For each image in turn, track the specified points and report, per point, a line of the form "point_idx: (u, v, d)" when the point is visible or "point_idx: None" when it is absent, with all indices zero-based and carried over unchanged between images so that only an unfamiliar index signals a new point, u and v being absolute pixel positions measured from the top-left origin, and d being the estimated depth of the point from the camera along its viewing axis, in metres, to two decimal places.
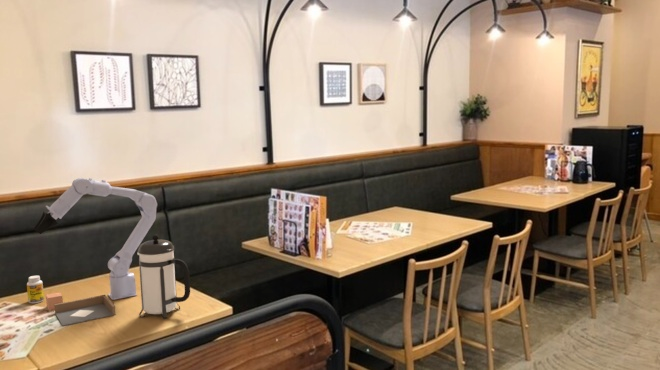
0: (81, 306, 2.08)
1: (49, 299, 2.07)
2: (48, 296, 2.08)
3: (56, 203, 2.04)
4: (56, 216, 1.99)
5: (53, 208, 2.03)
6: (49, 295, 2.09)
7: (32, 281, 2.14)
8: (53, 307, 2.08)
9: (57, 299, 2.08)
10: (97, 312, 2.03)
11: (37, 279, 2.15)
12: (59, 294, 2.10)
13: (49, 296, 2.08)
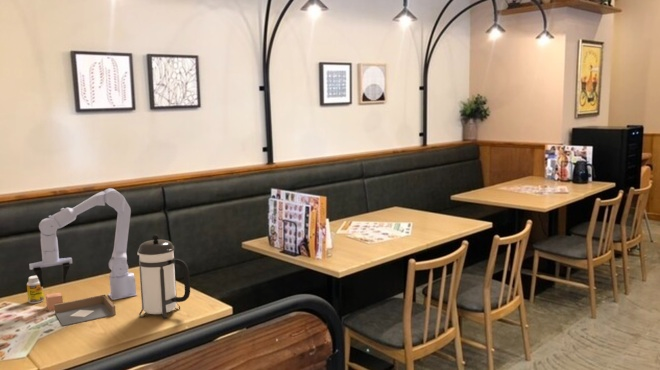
0: (81, 306, 2.08)
1: (49, 299, 2.07)
2: (48, 296, 2.08)
3: None
4: (29, 266, 2.04)
5: None
6: (49, 295, 2.09)
7: (32, 281, 2.14)
8: (53, 307, 2.08)
9: (57, 299, 2.08)
10: (97, 312, 2.03)
11: (37, 279, 2.15)
12: (59, 294, 2.10)
13: (49, 296, 2.08)
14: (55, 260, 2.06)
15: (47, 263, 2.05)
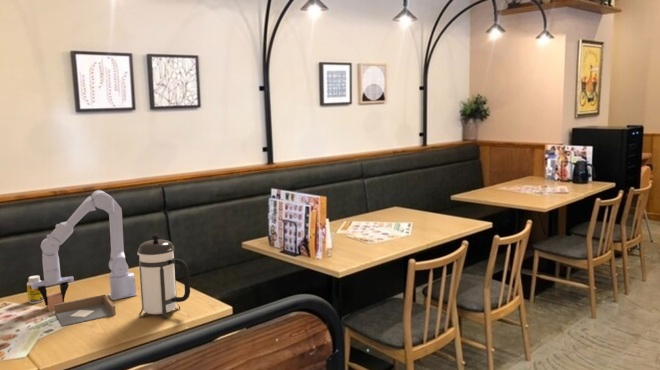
0: (81, 306, 2.08)
1: (49, 299, 2.07)
2: (48, 296, 2.08)
3: None
4: (31, 286, 2.05)
5: None
6: (49, 295, 2.09)
7: (32, 281, 2.14)
8: (53, 307, 2.08)
9: (57, 299, 2.08)
10: (97, 312, 2.03)
11: (37, 279, 2.15)
12: (59, 294, 2.10)
13: (49, 296, 2.08)
14: (57, 279, 2.07)
15: (49, 283, 2.06)
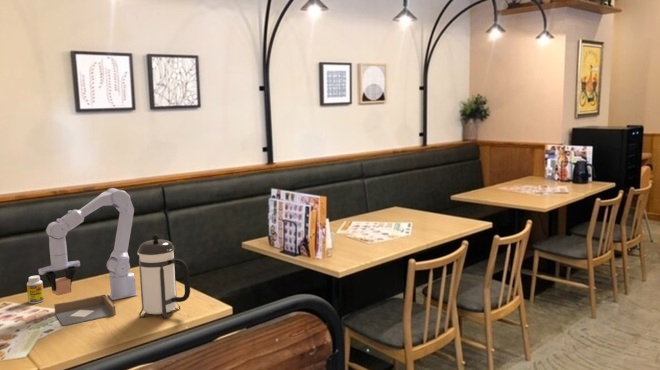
0: (81, 306, 2.08)
1: (58, 283, 2.03)
2: (56, 281, 2.04)
3: None
4: (40, 271, 2.00)
5: None
6: (56, 280, 2.06)
7: (32, 281, 2.14)
8: (62, 292, 2.04)
9: (66, 283, 2.05)
10: (97, 312, 2.03)
11: (37, 279, 2.15)
12: (66, 278, 2.07)
13: (56, 281, 2.05)
14: (65, 263, 2.05)
15: (58, 267, 2.03)
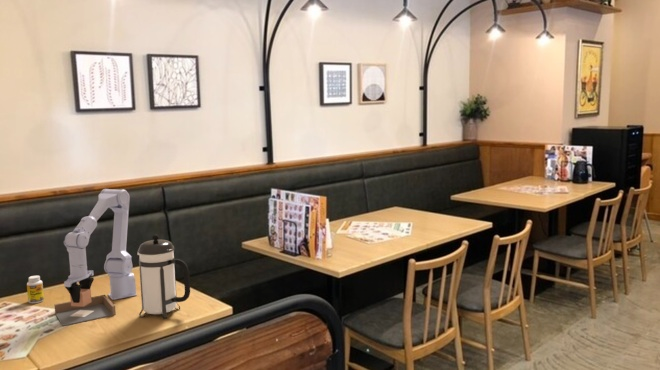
0: None
1: (83, 294, 1.99)
2: None
3: (70, 269, 1.98)
4: (67, 284, 1.93)
5: (70, 275, 1.98)
6: None
7: (32, 281, 2.14)
8: (86, 302, 2.00)
9: (88, 293, 2.01)
10: (97, 312, 2.03)
11: (37, 279, 2.15)
12: (84, 289, 2.03)
13: None
14: (87, 273, 2.01)
15: (82, 277, 1.98)
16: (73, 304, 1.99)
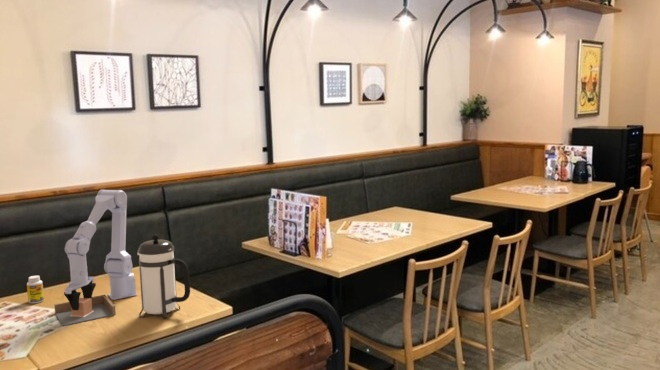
0: None
1: (84, 304, 1.99)
2: (79, 302, 1.99)
3: None
4: (68, 291, 1.93)
5: (71, 282, 1.99)
6: None
7: (32, 281, 2.14)
8: (86, 311, 2.01)
9: (88, 302, 2.02)
10: (97, 312, 2.03)
11: (37, 279, 2.15)
12: (85, 298, 2.03)
13: (79, 302, 2.00)
14: (87, 280, 2.01)
15: (83, 284, 1.98)
16: (74, 313, 2.00)
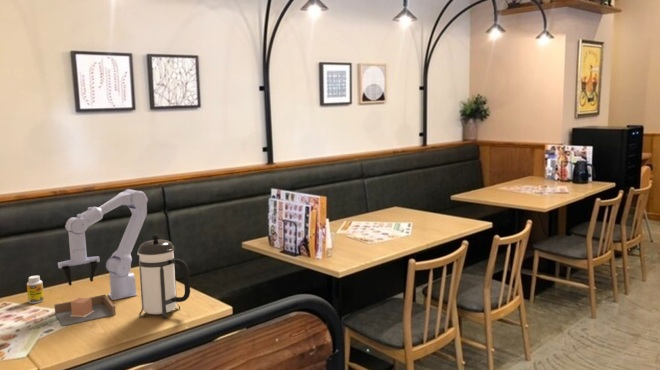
0: None
1: (84, 304, 1.99)
2: (79, 302, 1.99)
3: None
4: (58, 265, 2.04)
5: None
6: (77, 301, 2.00)
7: (32, 281, 2.14)
8: (86, 311, 2.01)
9: (88, 302, 2.02)
10: (97, 312, 2.03)
11: (37, 279, 2.15)
12: (85, 298, 2.03)
13: (79, 302, 2.00)
14: (83, 259, 2.07)
15: (76, 262, 2.06)
16: (74, 313, 2.00)
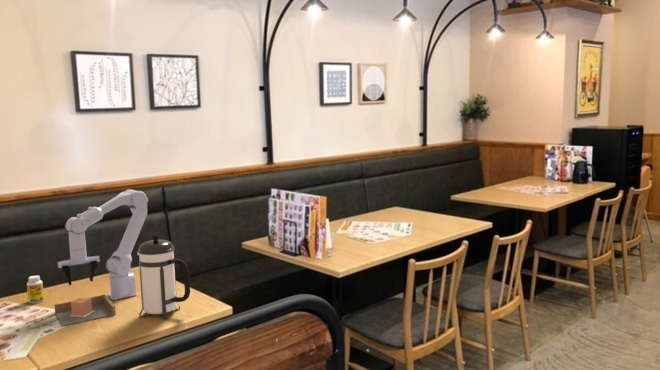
0: None
1: (84, 304, 1.99)
2: (79, 302, 1.99)
3: None
4: (58, 265, 2.05)
5: None
6: (77, 301, 2.00)
7: (32, 281, 2.14)
8: (86, 311, 2.01)
9: (88, 302, 2.02)
10: (97, 312, 2.03)
11: (37, 279, 2.15)
12: (85, 298, 2.03)
13: (79, 302, 2.00)
14: (83, 258, 2.07)
15: (75, 261, 2.06)
16: (74, 313, 2.00)
